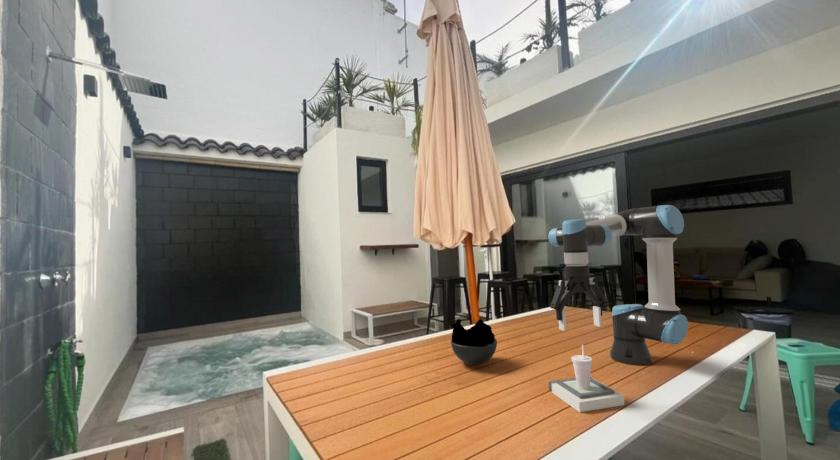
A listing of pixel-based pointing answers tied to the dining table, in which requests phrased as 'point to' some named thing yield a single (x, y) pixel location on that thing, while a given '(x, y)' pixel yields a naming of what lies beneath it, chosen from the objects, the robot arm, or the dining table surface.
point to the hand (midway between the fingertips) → (580, 328)
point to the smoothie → (582, 370)
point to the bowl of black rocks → (473, 342)
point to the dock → (586, 395)
